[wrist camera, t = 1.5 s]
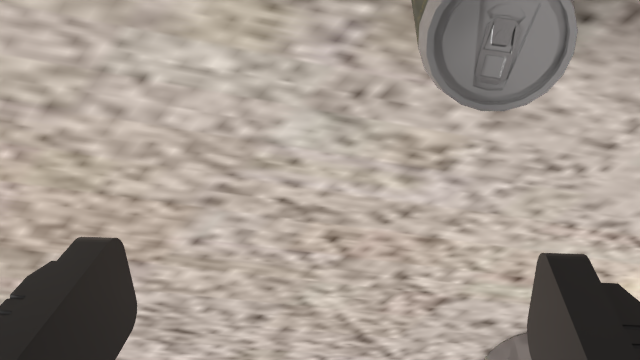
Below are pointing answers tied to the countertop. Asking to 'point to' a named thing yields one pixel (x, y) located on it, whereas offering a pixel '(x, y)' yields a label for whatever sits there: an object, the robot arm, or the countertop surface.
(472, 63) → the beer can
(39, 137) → the countertop surface
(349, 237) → the countertop surface
